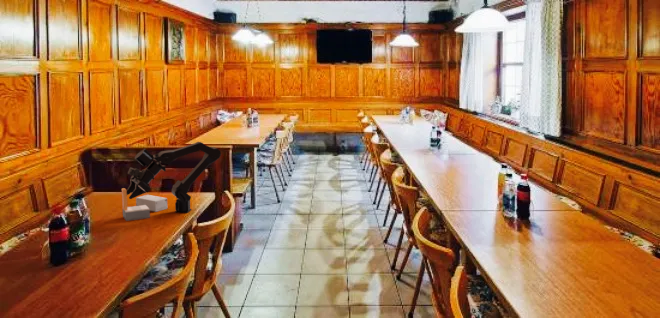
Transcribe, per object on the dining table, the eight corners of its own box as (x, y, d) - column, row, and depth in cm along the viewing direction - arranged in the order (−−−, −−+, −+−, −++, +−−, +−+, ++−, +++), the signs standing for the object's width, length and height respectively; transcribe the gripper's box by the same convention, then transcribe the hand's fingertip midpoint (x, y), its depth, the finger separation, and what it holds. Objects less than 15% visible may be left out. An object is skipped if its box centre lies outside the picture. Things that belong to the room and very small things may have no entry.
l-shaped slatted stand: (145, 206, 249) (144, 185, 248) (149, 209, 243) (148, 188, 241) (122, 208, 244) (120, 187, 242) (125, 212, 237) (123, 191, 235)
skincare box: (135, 207, 261) (155, 212, 254) (135, 196, 260) (154, 201, 252) (149, 204, 268) (168, 209, 261) (148, 193, 267) (167, 198, 260)
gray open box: (146, 213, 250) (146, 206, 250) (149, 217, 244) (149, 209, 243) (123, 216, 244) (122, 209, 244) (126, 220, 238) (125, 212, 237)
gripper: (134, 158, 248) (111, 182, 244) (142, 164, 233) (117, 190, 229) (151, 173, 254) (129, 196, 250) (159, 179, 238) (136, 204, 234)
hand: (127, 196), depth 240 cm, fingers open, 9 cm apart
